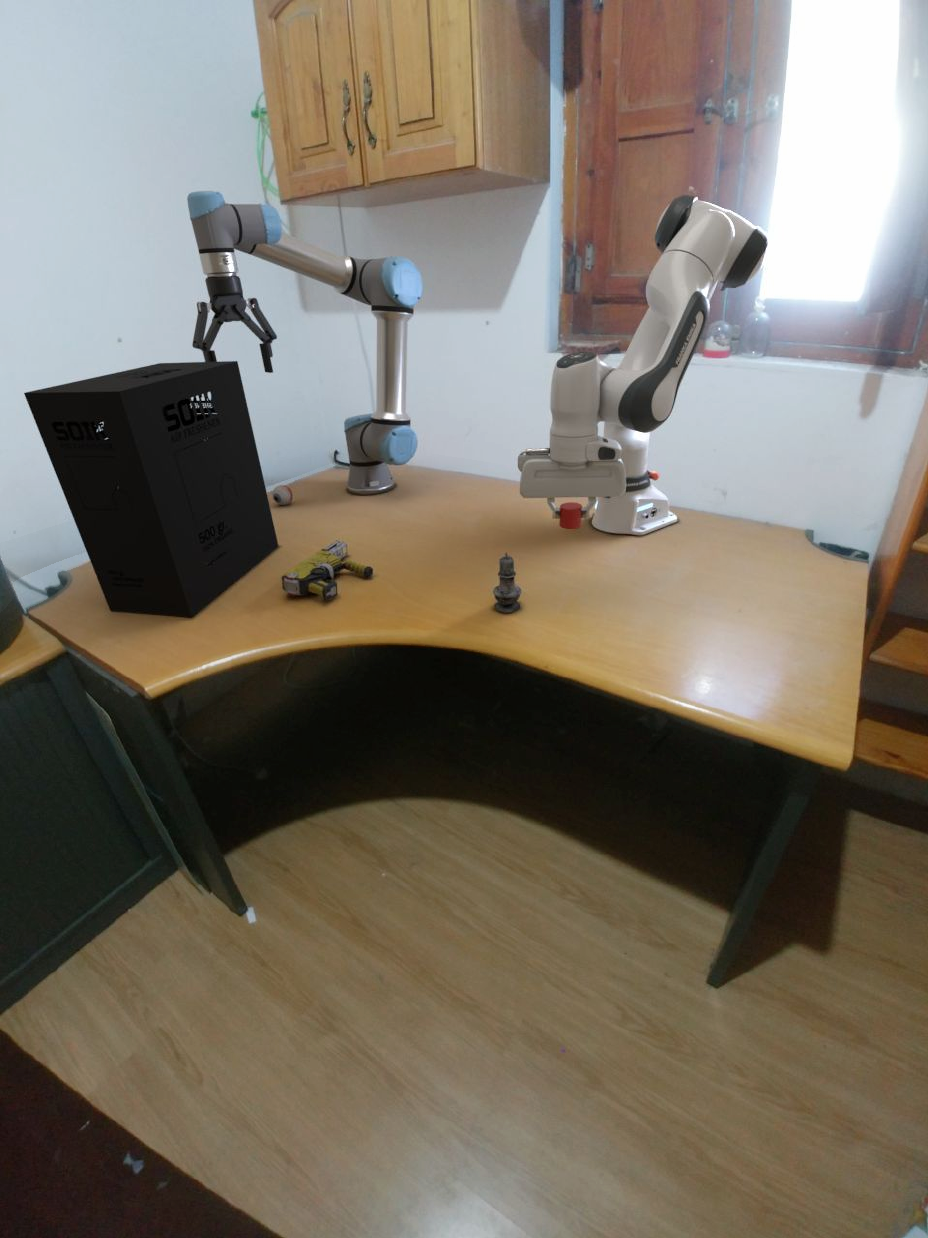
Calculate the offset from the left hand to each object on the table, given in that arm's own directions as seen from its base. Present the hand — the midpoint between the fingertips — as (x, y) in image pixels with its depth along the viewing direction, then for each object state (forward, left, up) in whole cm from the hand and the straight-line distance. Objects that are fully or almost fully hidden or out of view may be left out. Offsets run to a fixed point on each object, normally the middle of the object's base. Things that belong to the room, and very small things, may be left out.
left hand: (244, 376), depth 146 cm
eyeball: (-20, +14, -41) cm, 47 cm away
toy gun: (+38, -6, -41) cm, 56 cm away
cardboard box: (+10, -26, -41) cm, 49 cm away
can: (+82, +22, -26) cm, 88 cm away
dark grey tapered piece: (+76, +9, -41) cm, 87 cm away
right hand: (+82, +22, -24) cm, 88 cm away
